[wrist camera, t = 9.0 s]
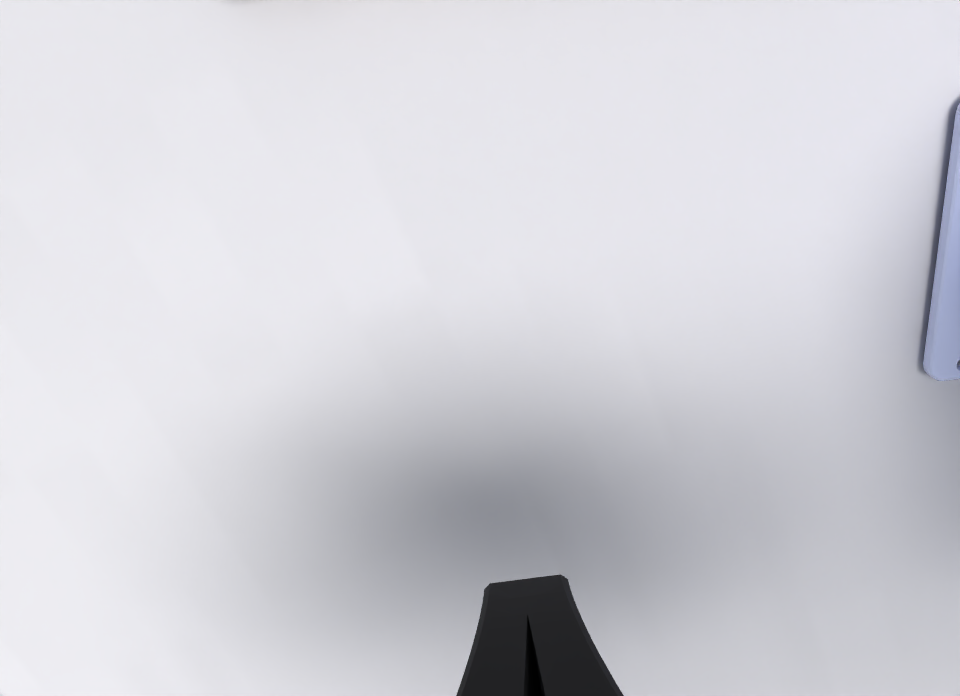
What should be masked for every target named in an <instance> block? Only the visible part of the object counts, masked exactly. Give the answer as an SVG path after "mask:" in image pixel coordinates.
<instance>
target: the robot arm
mask: <svg viewBox="0 0 960 696" xmlns="http://www.w3.org/2000/svg"><path fill="white" fill-rule="evenodd" d="M959 360H960V104H959V105H958V108H957V111H956V114H955V122H954V129H953V137H952V145H951V153H950V160H949V168H948V176H947V184H946V191H945V199H944V207H943V214H942V222H941V230H940V238H939V245H938V253H937V261H936V269H935V276H934V284H933V292H932V299H931V307H930V315H929V323H928V330H927V338H926V346H925V354H924V361H923V366H924V370H925V371H926V373H927V374H928V375H930V376H931V377H932V378H934V379H936V380H938V381H947V380H955V379H960V365H957V363H958V361H959ZM457 696H623V694H622V692H621V691H620V689H619V687H618V686H617V684H616V682H615V681H614V679H613V677H612V675H611V674H610V672H609V670H608V668H607V667H606V665H605V663H604V661H603V660H602V658H601V656H600V654H599V652H598V651H597V649H596V647H595V645H594V643H593V641H592V639H591V637H590V635H589V633H588V631H587V629H586V627H585V624H584V622H583V620H582V618H581V616H580V613H579V611H578V609H577V606H576V604H575V601H574V598H573V595H572V593H571V590H570V586H569V582H568V579H567V578H565V577H564V576H562V575H554V576H546V577H538V578H530V579H522V580H514V581H506V582H498V583H491V584H489V585H488V586H487V587H486V588H485V589H484V597H483V604H482V609H481V614H480V619H479V623H478V627H477V631H476V635H475V639H474V642H473V646H472V649H471V653H470V656H469V659H468V662H467V665H466V669H465V672H464V675H463V678H462V681H461V684H460V687H459V690H458V693H457Z"/></svg>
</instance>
